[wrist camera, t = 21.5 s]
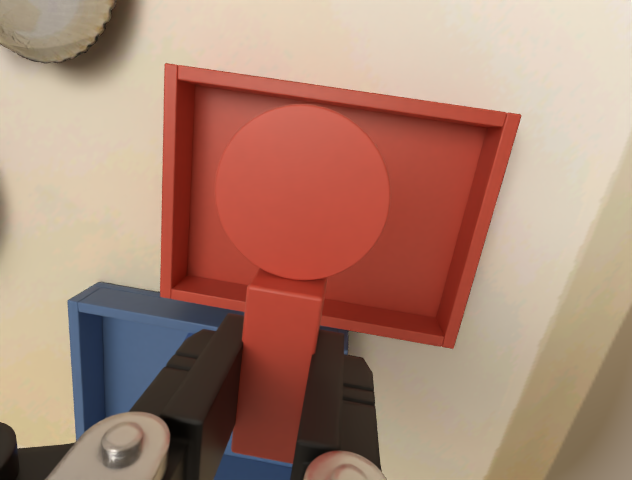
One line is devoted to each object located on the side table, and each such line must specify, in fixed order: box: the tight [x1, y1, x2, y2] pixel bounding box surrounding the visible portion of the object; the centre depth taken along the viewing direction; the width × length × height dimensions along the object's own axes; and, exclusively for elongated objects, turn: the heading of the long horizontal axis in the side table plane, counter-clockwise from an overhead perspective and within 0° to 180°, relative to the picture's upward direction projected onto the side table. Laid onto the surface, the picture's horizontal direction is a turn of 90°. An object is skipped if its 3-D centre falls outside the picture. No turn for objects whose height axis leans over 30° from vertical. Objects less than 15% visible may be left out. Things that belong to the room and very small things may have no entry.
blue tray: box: [68, 282, 349, 480], centre depth 22 cm, size 15×11×3 cm
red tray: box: [160, 63, 521, 349], centre depth 18 cm, size 15×11×3 cm
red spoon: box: [215, 104, 391, 464], centre depth 8 cm, size 8×4×2 cm, turn 172°
